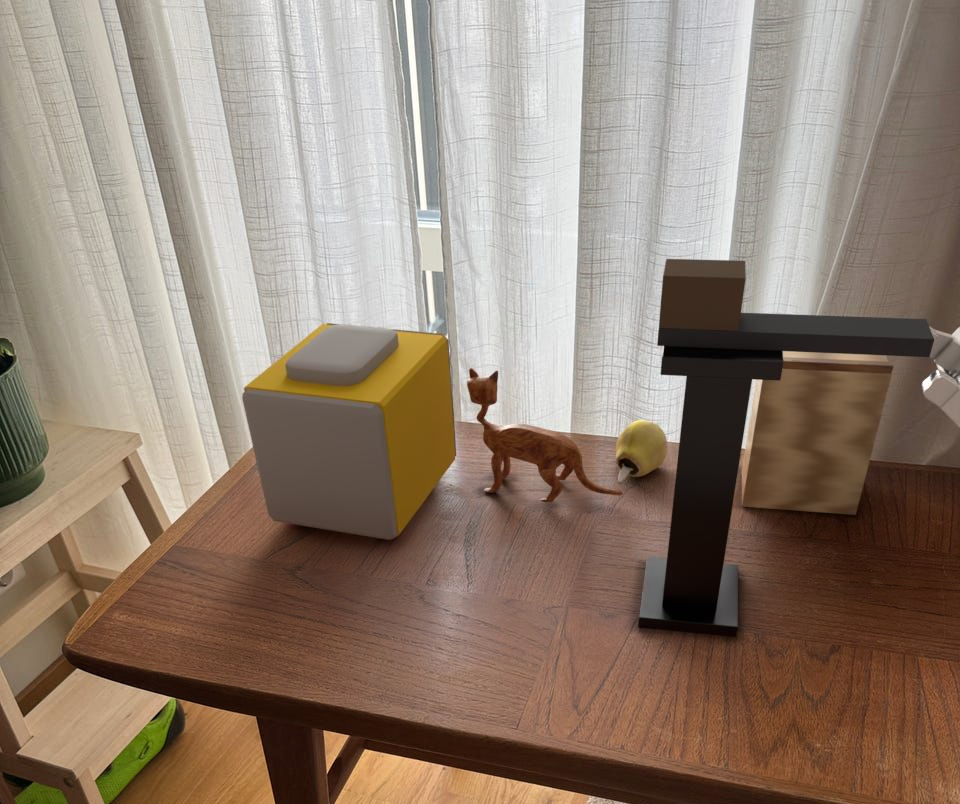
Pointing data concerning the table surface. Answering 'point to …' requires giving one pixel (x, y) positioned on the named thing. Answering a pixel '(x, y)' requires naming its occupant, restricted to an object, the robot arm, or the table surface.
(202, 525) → the table surface
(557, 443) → the cat figurine
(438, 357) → the alarm clock
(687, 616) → the shelf stand
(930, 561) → the table surface
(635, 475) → the fruit
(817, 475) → the wavy wood-grain slab
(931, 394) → the robot arm
